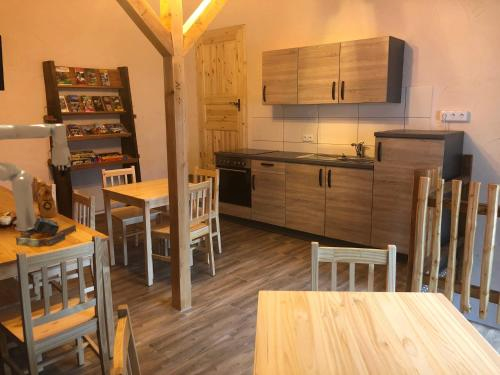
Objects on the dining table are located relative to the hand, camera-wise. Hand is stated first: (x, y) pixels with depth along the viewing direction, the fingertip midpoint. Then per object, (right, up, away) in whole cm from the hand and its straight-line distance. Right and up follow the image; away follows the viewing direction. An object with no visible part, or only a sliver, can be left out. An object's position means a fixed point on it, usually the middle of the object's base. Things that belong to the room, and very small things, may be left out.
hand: (63, 176), depth 247 cm
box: (+1, -30, -12) cm, 32 cm away
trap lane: (-1, -33, -17) cm, 38 cm away
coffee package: (-21, -25, +25) cm, 41 cm away
